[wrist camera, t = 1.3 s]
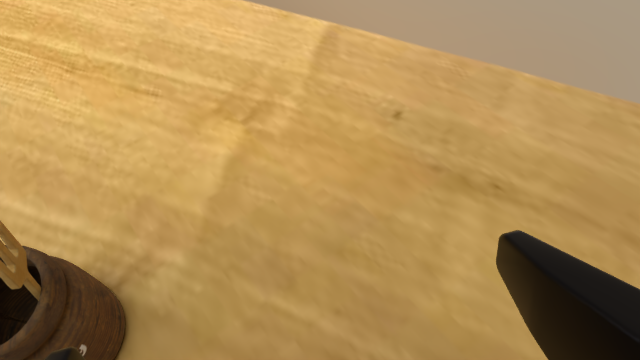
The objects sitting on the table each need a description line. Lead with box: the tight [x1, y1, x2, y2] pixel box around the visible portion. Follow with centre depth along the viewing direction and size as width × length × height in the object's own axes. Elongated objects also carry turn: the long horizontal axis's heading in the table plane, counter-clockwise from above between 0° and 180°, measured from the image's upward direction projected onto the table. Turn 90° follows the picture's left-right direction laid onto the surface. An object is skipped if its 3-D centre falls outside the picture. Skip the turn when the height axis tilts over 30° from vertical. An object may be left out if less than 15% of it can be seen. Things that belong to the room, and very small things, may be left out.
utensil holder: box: [0, 221, 125, 360], centre depth 19 cm, size 6×6×12 cm
